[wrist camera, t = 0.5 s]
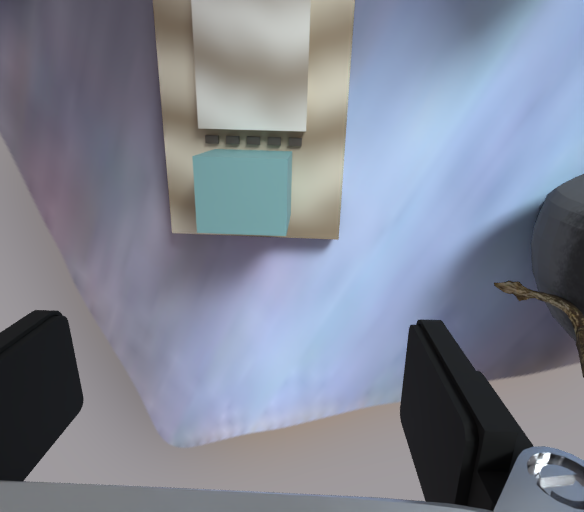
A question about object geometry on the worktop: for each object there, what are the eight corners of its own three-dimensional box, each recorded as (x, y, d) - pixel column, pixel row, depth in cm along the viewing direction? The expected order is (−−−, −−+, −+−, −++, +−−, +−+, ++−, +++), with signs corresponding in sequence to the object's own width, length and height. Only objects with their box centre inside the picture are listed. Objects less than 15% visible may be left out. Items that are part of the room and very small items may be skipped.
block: (214, 148, 30) (192, 156, 24) (292, 151, 30) (287, 159, 24) (217, 212, 32) (197, 232, 26) (290, 214, 31) (286, 236, 26)
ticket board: (161, -10, 28) (145, -24, 26) (352, -7, 28) (357, -22, 25) (179, 226, 34) (167, 236, 32) (336, 232, 34) (339, 243, 31)
